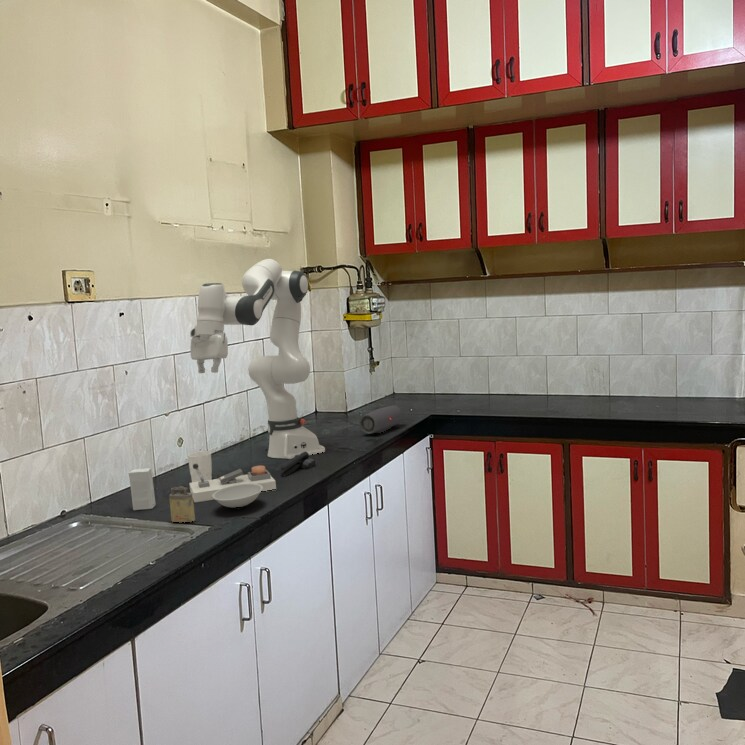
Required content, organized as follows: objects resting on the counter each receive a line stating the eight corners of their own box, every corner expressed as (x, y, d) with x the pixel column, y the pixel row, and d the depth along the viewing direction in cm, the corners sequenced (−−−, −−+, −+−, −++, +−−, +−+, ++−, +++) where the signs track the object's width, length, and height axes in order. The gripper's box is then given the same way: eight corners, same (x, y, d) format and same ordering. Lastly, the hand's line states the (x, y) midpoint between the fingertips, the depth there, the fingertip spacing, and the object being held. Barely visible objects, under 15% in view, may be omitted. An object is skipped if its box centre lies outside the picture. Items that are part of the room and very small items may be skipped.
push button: (264, 471, 248) (263, 464, 248) (266, 474, 244) (266, 467, 244) (251, 473, 247) (250, 466, 246) (253, 476, 242) (252, 469, 242)
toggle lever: (205, 479, 241) (196, 462, 239) (206, 481, 239) (197, 463, 237) (200, 482, 240) (191, 464, 239) (201, 483, 238) (192, 465, 237)
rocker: (241, 471, 245) (240, 468, 245) (243, 474, 241) (242, 471, 241) (219, 480, 243) (218, 477, 243) (221, 483, 239) (220, 480, 239)
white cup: (204, 477, 263) (201, 450, 262) (218, 480, 258) (215, 452, 257) (185, 483, 257) (182, 455, 256) (199, 486, 252) (197, 457, 251)
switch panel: (267, 480, 254) (266, 466, 253) (276, 489, 240) (275, 476, 240) (190, 491, 245) (188, 478, 245) (194, 502, 232) (193, 488, 232)
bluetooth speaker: (377, 437, 311) (376, 414, 310) (359, 436, 316) (357, 413, 315) (404, 426, 330) (402, 404, 329) (386, 425, 335) (384, 404, 334)
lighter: (197, 519, 215) (194, 485, 213) (191, 523, 211) (188, 489, 210) (175, 519, 216) (171, 485, 215) (168, 523, 213) (165, 489, 211)
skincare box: (155, 505, 232) (152, 467, 231) (152, 509, 228) (148, 471, 227) (136, 506, 232) (132, 469, 231) (132, 510, 228) (128, 472, 227)
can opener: (302, 464, 274) (301, 449, 273) (318, 465, 271) (316, 450, 270) (273, 476, 259) (272, 461, 258) (289, 478, 255) (288, 462, 255)
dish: (232, 498, 234) (231, 482, 234) (273, 499, 230) (272, 483, 229) (203, 515, 218) (201, 499, 217) (246, 517, 213) (244, 500, 213)
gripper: (233, 330, 239) (231, 372, 238) (205, 333, 255) (203, 374, 254) (216, 328, 235) (213, 371, 234) (187, 332, 251) (185, 372, 250)
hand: (207, 372), depth 244 cm, fingers open, 8 cm apart
